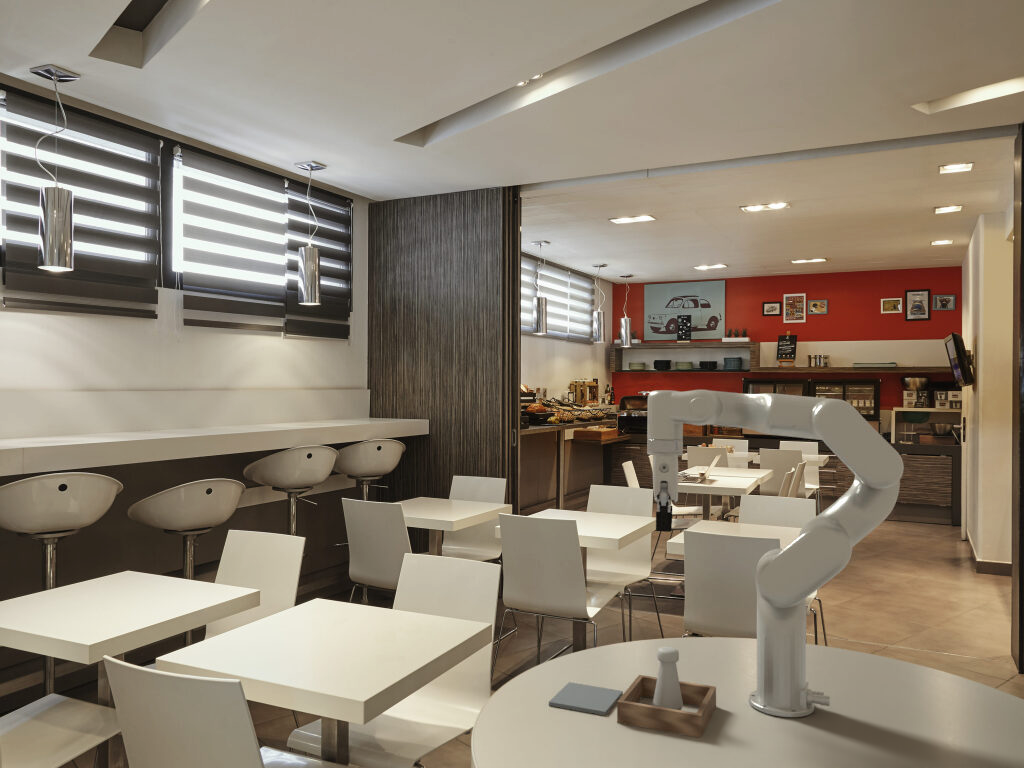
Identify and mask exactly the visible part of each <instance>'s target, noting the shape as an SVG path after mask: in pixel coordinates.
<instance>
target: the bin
mask: <svg viewBox="0 0 1024 768" xmlns="http://www.w3.org/2000/svg"><path fill="white" fill-rule="evenodd" d="M656 683H657V676H651V675H650V676H649V675H642V674H638V676H637V677H636V678H635V679H634V680H633V682H632V683H631V684H630V685H629V686H628V688H627V689H626V690H625V691H624V692H623V695H622V696H621V697H620V699H619V700H618V701H617V702H616V706H617V707H616V710H617V711H616V713H617V715H616V717H617V718H616V720H617V723H618V724H623V725H628V724H629V726H634V725H635V727H639V726H641V727H640V728H645V727H646V729H650V728H651V730H656V731H660V732H661V731H662V732H666V733H667V732H668V733H672V734H678V735H679V734H680V735H684V736H688V737H693V738H694V737H695V738H701V739H702V737H703V735H704V733H705V730H706V728H707V726H708V724H709V722H710V721H711V718H712V716H713V714H714V711H715V710H716V708H717V686H713V685H707V684H700V683H696V682H694V683H693V682H690V681H688V682H687V681H681V680H679V684H680V690H681V696H682V701H683V704H686V703H687V705H692V706H699V708H698V709H697V712H694V711H686V710H682V709H681V710H676V709H670V708H664V707H658V706H654V705H650V704H644V703H639V702H640V700H641V699H642V698H641V697H644V696H647V697H646V698H650V697H652V699H654V694H655V689H656ZM640 698H641V699H640ZM638 701H639V702H638Z"/></svg>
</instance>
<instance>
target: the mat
mask: <svg viewBox="0 0 1024 768" xmlns="http://www.w3.org/2000/svg"><path fill="white" fill-rule="evenodd" d="M623 691H624V690H619V689H613V688H606V687H602V686H595V685H588V684H582V683H577V682H572V681H569V682H568V683H566V684H565V685H564V686H563V688H561V690H559V691H558V692H557V693H556V694H555V695H554V696H553V697H552V698H551V699H550V700H549V701H548V706H549V707H555V708H559V707H560V709H564V708H567V709H566V710H570V709H572V711H575V710H578V711H577V712H581V711H583V712H582V713H587V712H589V713H588V714H592V713H595V714H594V715H598V714H599V715H600V716H603V715H605V716H607V715H608V713H609V712H610V711H611V710H612V709H613V708H614V706H615V705H616V704H617V701H618V699H619V698H621V696H622V695H623V694H624V692H623ZM615 703H616V704H615ZM611 708H612V709H611ZM610 709H611V710H610ZM606 714H607V715H606ZM605 716H604V717H605Z"/></svg>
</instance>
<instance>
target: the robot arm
mask: <svg viewBox="0 0 1024 768" xmlns="http://www.w3.org/2000/svg"><path fill="white" fill-rule="evenodd" d="M646 424H647V425H646V426H647V427H646V429H647V435H646V438H647V443H646V451H647V453H646V454H647V455H650V456H652V484H653V485H652V487H653V488H652V489H653V497H654V501H655V502H657V503H656V511H655V530H656V532H663V533H664V532H665V533H671V532H672V529H673V528H672V526H673V525H672V524H673V505H672V501H674V503H677V502H678V500H679V458H678V456H683V452H684V451H683V450H684V449H683V448H684V443H683V442H684V439H683V437H684V434H683V433H684V424H688V425H692V426H693V425H694V426H706V425H709V426H710V425H712V426H721V427H722V426H723V427H733V428H740V429H747V430H750V431H754V432H758V433H761V434H765V435H771V436H780V437H781V436H782V437H792V438H801V439H809V440H810V439H811V440H820V441H822V442H824V444H825V445H826V447H828V448H829V449H830V450H831V451H832V452H833V454H835V456H836V457H838V459H839V460H840V461H841V462H842V463H843V464H844V465H845V466H846V467H847V468H848V469H849V470H850V471H851V472H852V474H854V480H853V482H852V484H851V486H850V487H849V488H848V490H846V491H845V493H843V495H841V496H840V497H839V498H838V499H837V500H835V501H834V502H833V503H832V504H831V505H830V506H828V507H827V508H826V509H824V510H823V511H822V512H820V513H819V514H818V515H817V516H815V517H814V518H813V519H811V520H809V521H808V522H806V523H805V524H804V525H803V526H802V527H801V530H800V531H799V534H798V537H796V538H795V539H794V540H792V541H791V542H790V543H789V544H787V546H785V547H784V548H775V549H771V550H769V551H767V552H765V553H764V554H763V555H762V556H761V557H760V558H759V561H758V563H757V565H756V571H755V578H754V579H755V581H754V582H755V588H756V690H753V691H752V692H750V693H749V694H748V703H749V705H750V706H751V707H753V708H754V709H755V710H757V711H760V712H762V713H764V714H768V715H771V716H775V717H781V718H802V717H805V716H809V715H811V714H812V713H813V712H814V711H815V704H816V705H820V706H825V707H831V703H830V702H831V696H830V695H827V694H826V695H825V693H824V691H815V690H812V688H809V682H808V681H807V667H806V666H807V647H806V645H807V598H808V597H810V596H811V595H812V594H814V593H815V592H816V591H818V590H819V589H820V588H821V587H823V586H824V585H826V583H828V582H830V581H831V580H832V579H833V578H834V577H836V576H837V575H838V574H840V573H841V572H842V571H843V570H844V569H845V568H846V566H847V565H848V563H849V562H850V560H851V557H852V553H853V548H854V547H855V546H856V545H857V544H858V543H859V542H861V541H862V540H863V539H864V538H866V537H867V536H868V535H869V534H870V533H871V532H872V531H873V530H875V529H876V528H877V527H879V526H880V524H882V523H883V522H884V521H885V520H886V519H887V517H888V516H889V515H890V514H891V512H893V509H894V507H895V505H896V502H897V501H898V497H899V494H900V485H901V482H900V480H901V479H902V477H903V474H904V469H905V468H904V467H905V466H904V462H903V458H902V457H901V455H900V453H899V451H897V450H896V449H895V448H894V447H893V446H892V445H891V444H890V443H889V442H888V441H887V440H886V439H885V438H884V437H883V436H882V435H881V433H879V432H878V431H877V430H876V429H875V428H874V427H873V426H872V425H871V424H870V422H868V421H867V419H866V418H864V417H863V415H861V413H860V412H859V411H858V410H857V409H856V408H855V407H854V406H853V405H852V404H851V403H850V402H848V401H845V400H843V399H839V398H826V397H815V396H804V395H803V396H802V395H792V394H784V393H771V392H770V393H769V392H767V393H765V392H763V393H742V392H741V393H738V392H730V391H729V392H728V391H720V390H719V391H717V390H709V389H694V390H693V389H692V390H687V391H686V390H685V391H678V390H670V389H669V390H667V389H666V390H663V389H662V390H658V389H657V390H651V391H650V392H649V394H648V395H647V423H646Z"/></svg>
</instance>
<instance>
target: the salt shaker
mask: <svg viewBox="0 0 1024 768" xmlns="http://www.w3.org/2000/svg"><path fill="white" fill-rule="evenodd" d="M656 657H657V660H658V661H659V666H658V672H657V676H656V678H657V683H656V689H655V694H654V698H652V699H653V700H652V703H653V706H658V707H664V708H670V709H676V710H682V709H683V707H684V703H683V701H682V696H681V690H680V684H679V681H680V680H679V678H680V677H679V675H678V674H679V673H678V667H677V666H678V665H677V663H678V661H680V652H679V650H678V649H677V648H675V647H673V646H661V647H659V648H658V649H657V653H656Z"/></svg>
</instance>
